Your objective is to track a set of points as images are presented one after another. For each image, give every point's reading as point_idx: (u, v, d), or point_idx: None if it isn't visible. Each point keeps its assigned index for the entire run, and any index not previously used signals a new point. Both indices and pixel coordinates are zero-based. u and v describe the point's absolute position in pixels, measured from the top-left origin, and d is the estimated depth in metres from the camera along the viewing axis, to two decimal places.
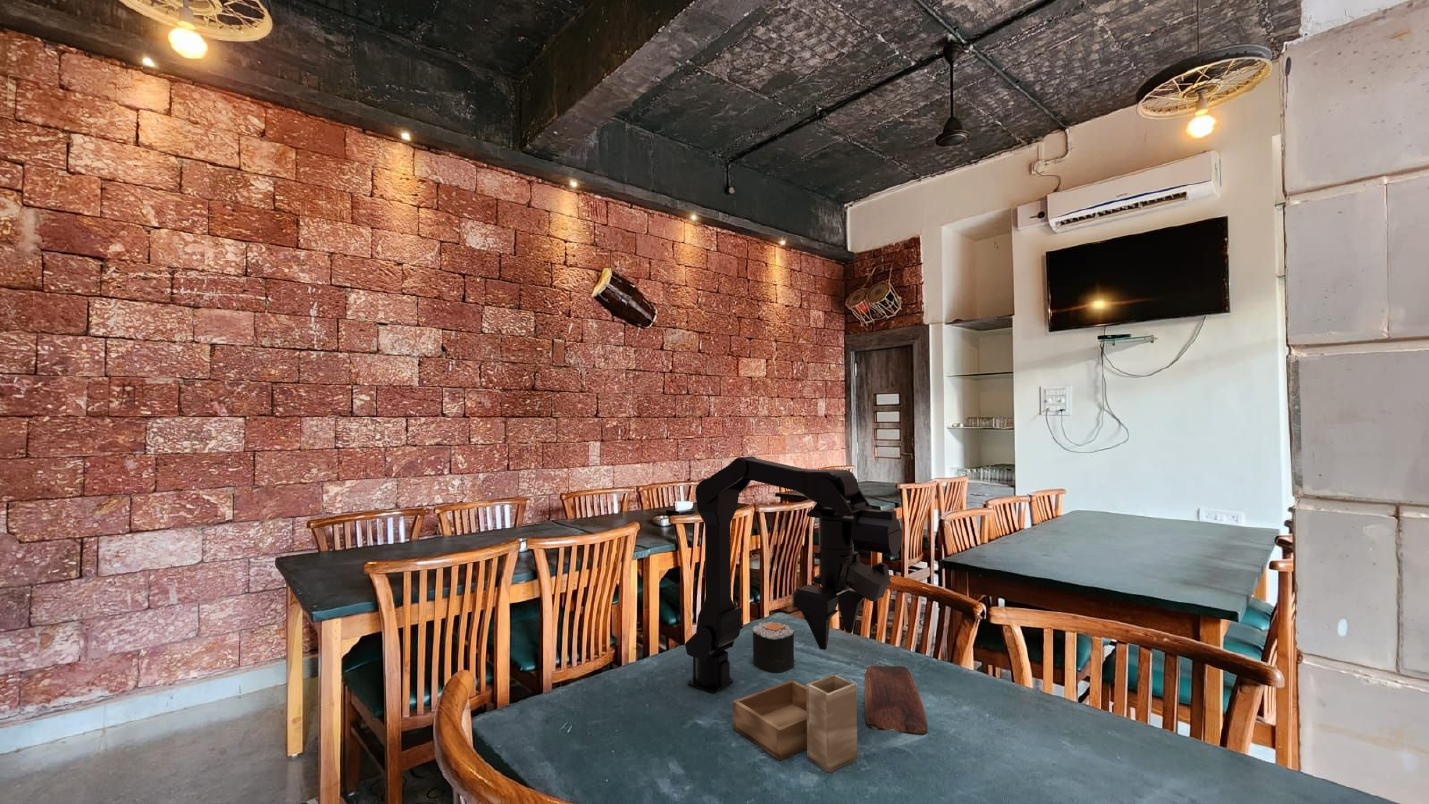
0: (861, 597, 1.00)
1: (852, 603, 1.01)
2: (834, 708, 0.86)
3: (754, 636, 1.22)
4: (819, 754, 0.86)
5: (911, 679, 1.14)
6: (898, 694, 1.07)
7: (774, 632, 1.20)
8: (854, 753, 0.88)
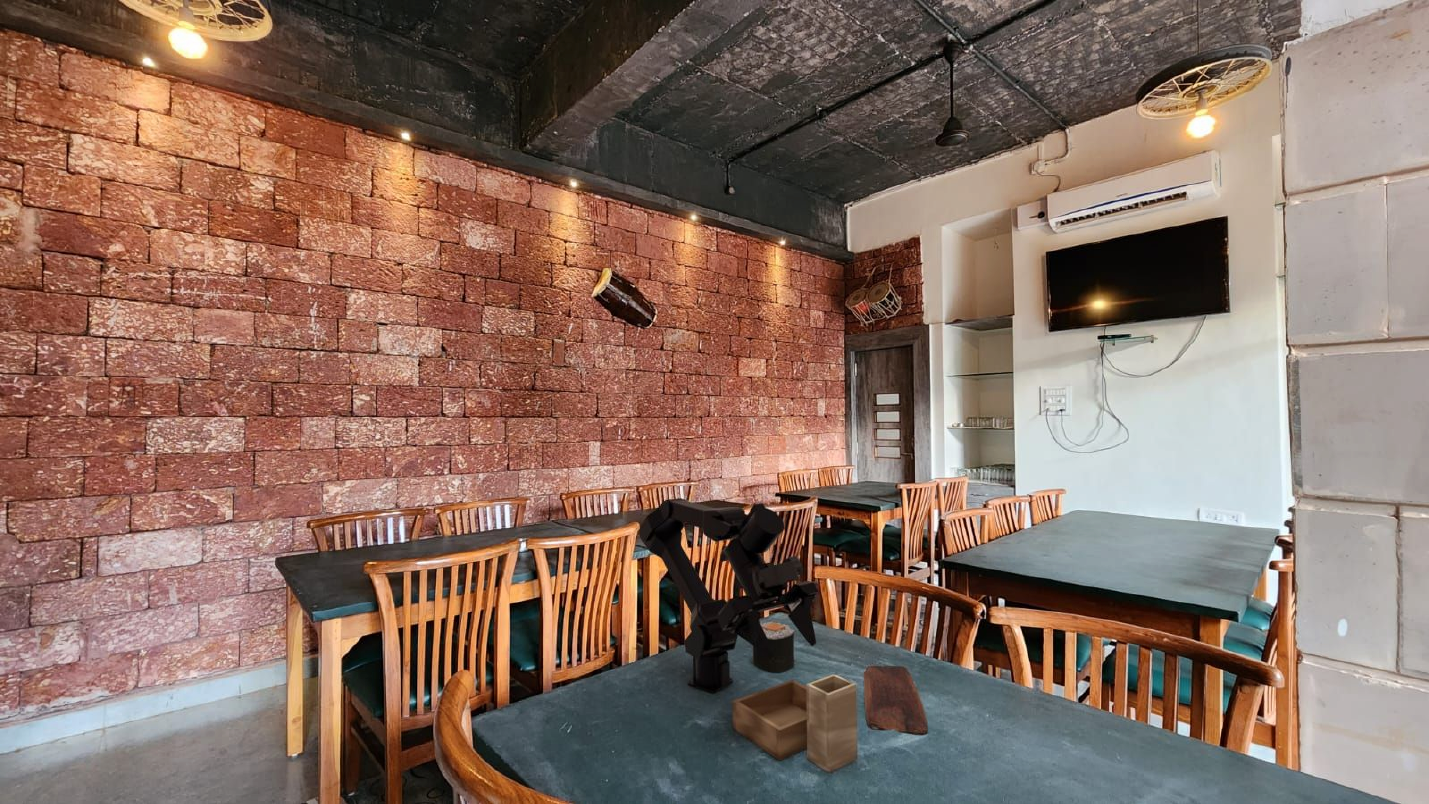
0: (803, 603, 1.01)
1: (801, 615, 1.01)
2: (834, 708, 0.86)
3: None
4: (819, 754, 0.86)
5: (910, 679, 1.14)
6: (897, 694, 1.07)
7: (774, 632, 1.20)
8: (854, 753, 0.88)
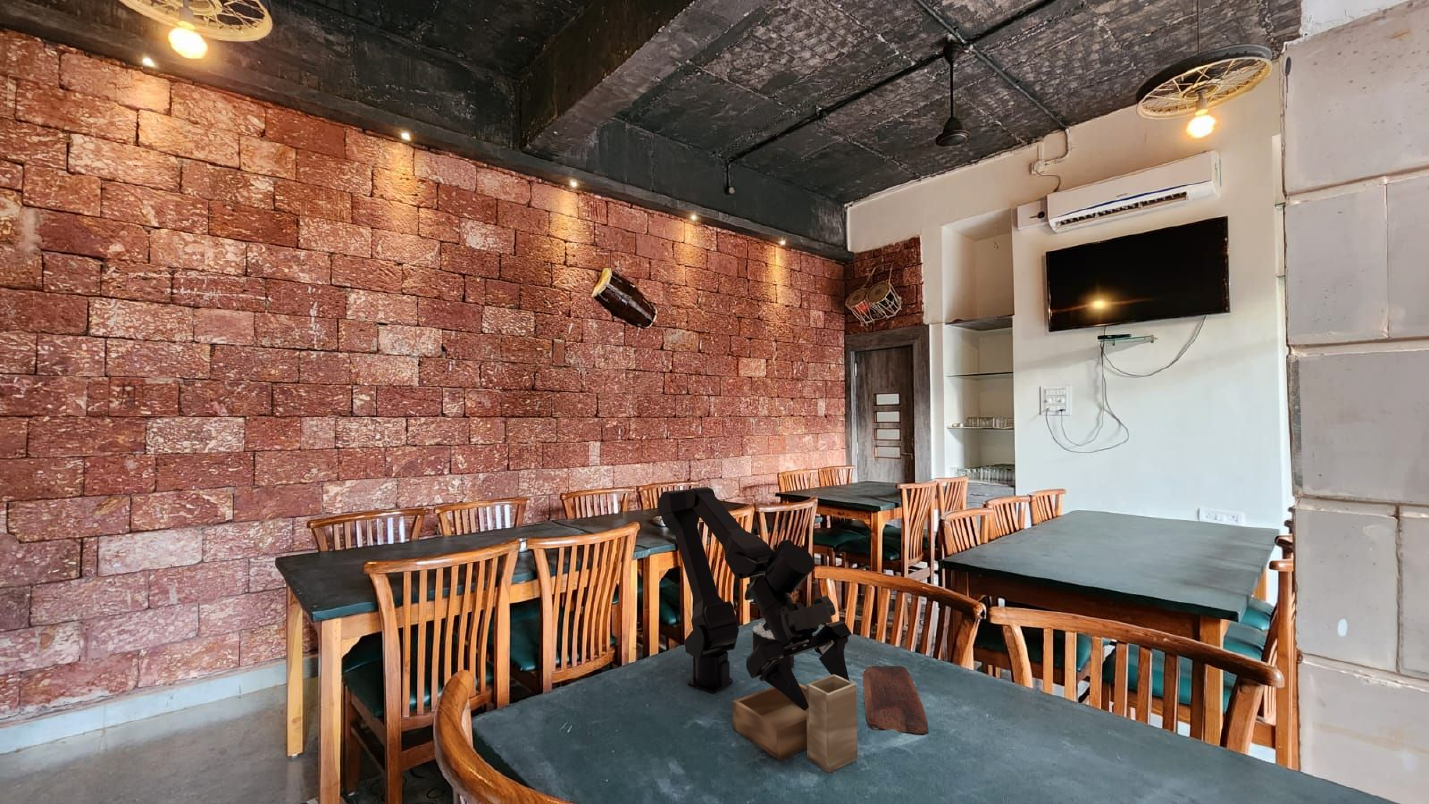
0: (836, 646, 0.95)
1: (834, 659, 0.95)
2: (834, 708, 0.86)
3: (754, 636, 1.22)
4: (819, 754, 0.86)
5: (910, 679, 1.14)
6: (897, 694, 1.07)
7: None
8: (854, 753, 0.88)
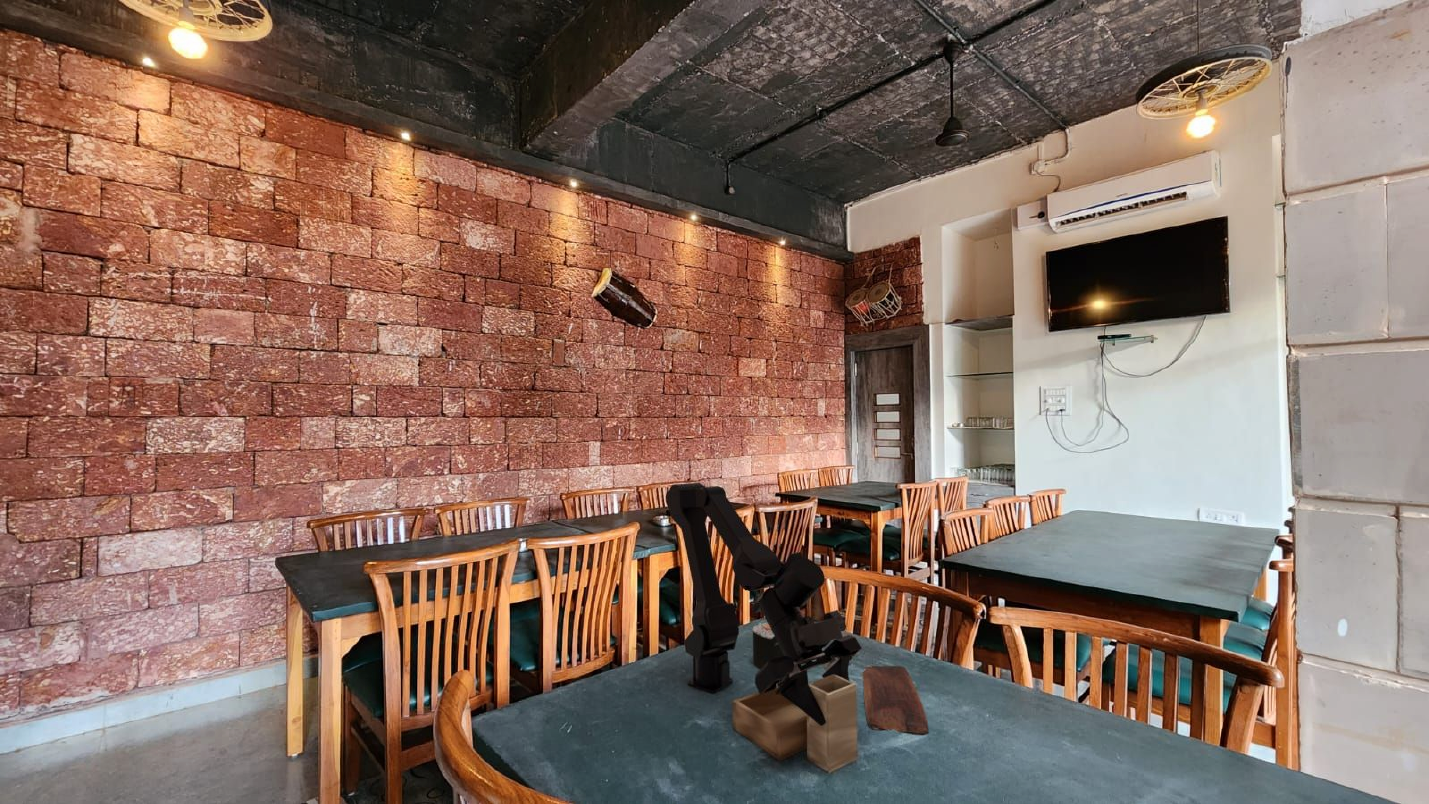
0: (839, 664, 0.92)
1: None
2: (834, 708, 0.86)
3: (754, 636, 1.22)
4: (819, 754, 0.86)
5: (909, 679, 1.14)
6: (897, 694, 1.07)
7: None
8: (854, 753, 0.88)
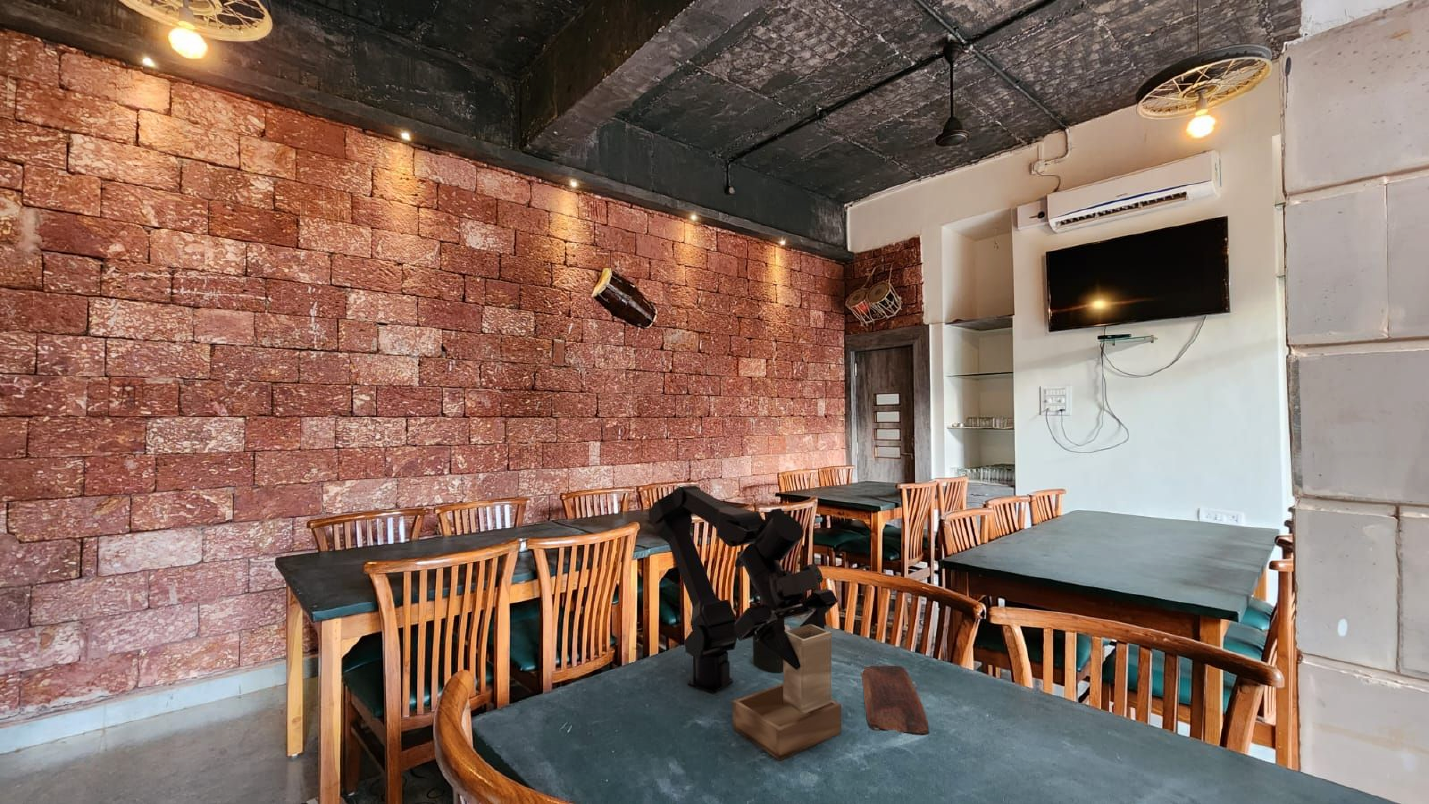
0: (816, 614, 0.96)
1: None
2: (809, 653, 0.90)
3: (754, 636, 1.22)
4: (794, 697, 0.91)
5: (908, 679, 1.14)
6: (897, 694, 1.07)
7: None
8: (828, 697, 0.92)
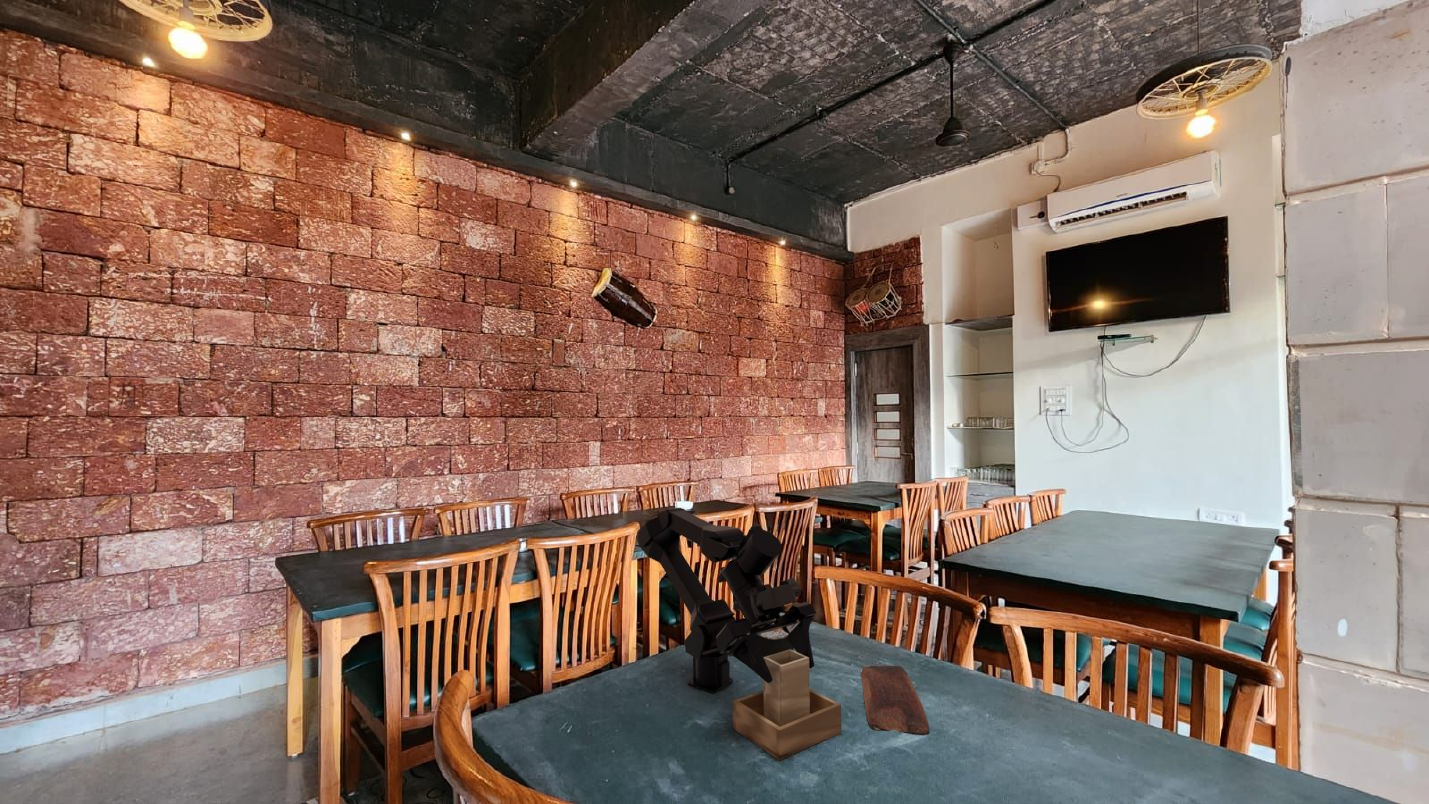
0: (801, 625, 1.01)
1: (799, 637, 1.01)
2: (787, 678, 0.94)
3: None
4: (773, 721, 0.94)
5: (908, 679, 1.14)
6: (897, 694, 1.07)
7: (774, 632, 1.21)
8: None
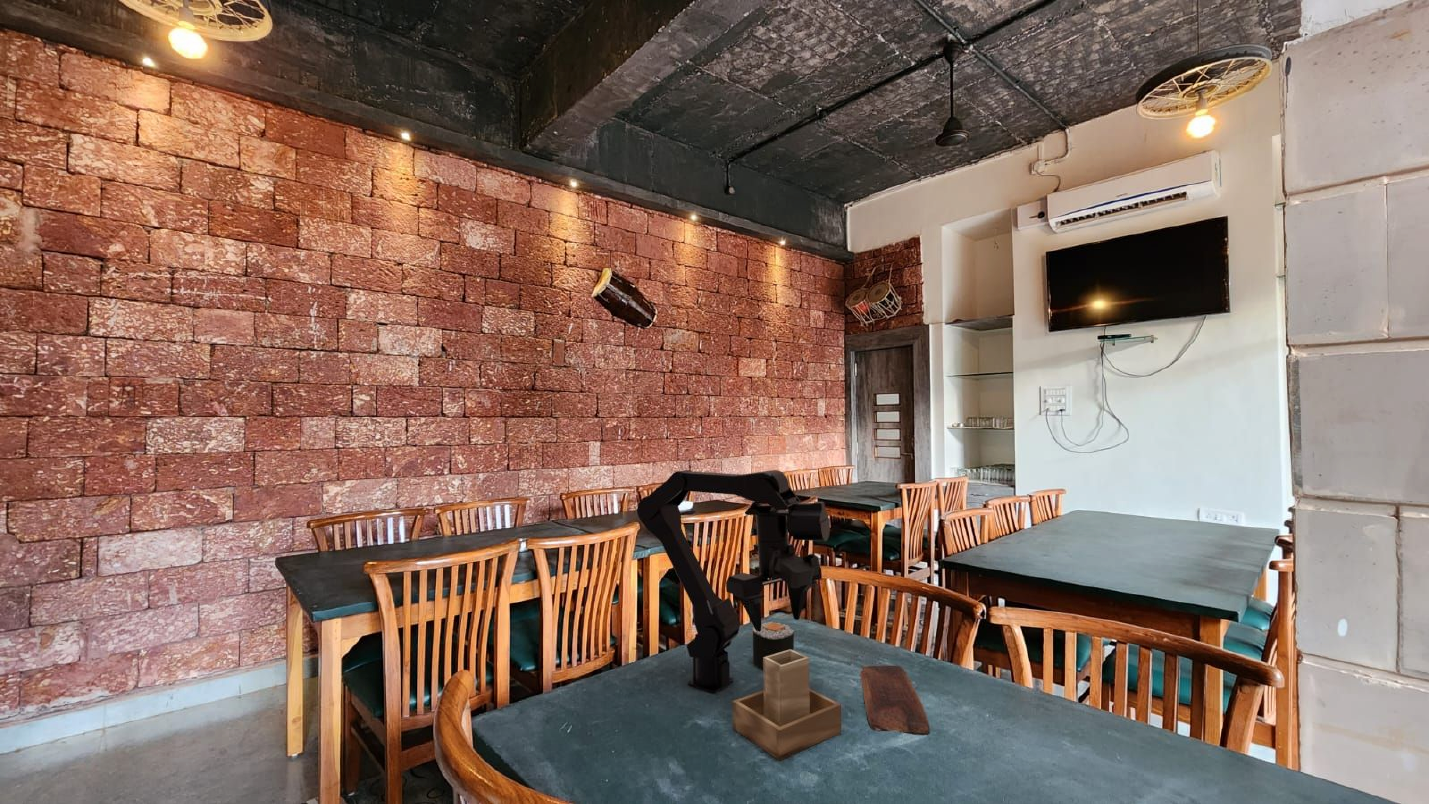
0: (804, 587, 1.09)
1: (798, 592, 1.10)
2: (787, 678, 0.94)
3: (754, 636, 1.22)
4: (773, 721, 0.94)
5: (907, 678, 1.14)
6: (896, 694, 1.07)
7: (774, 632, 1.21)
8: None
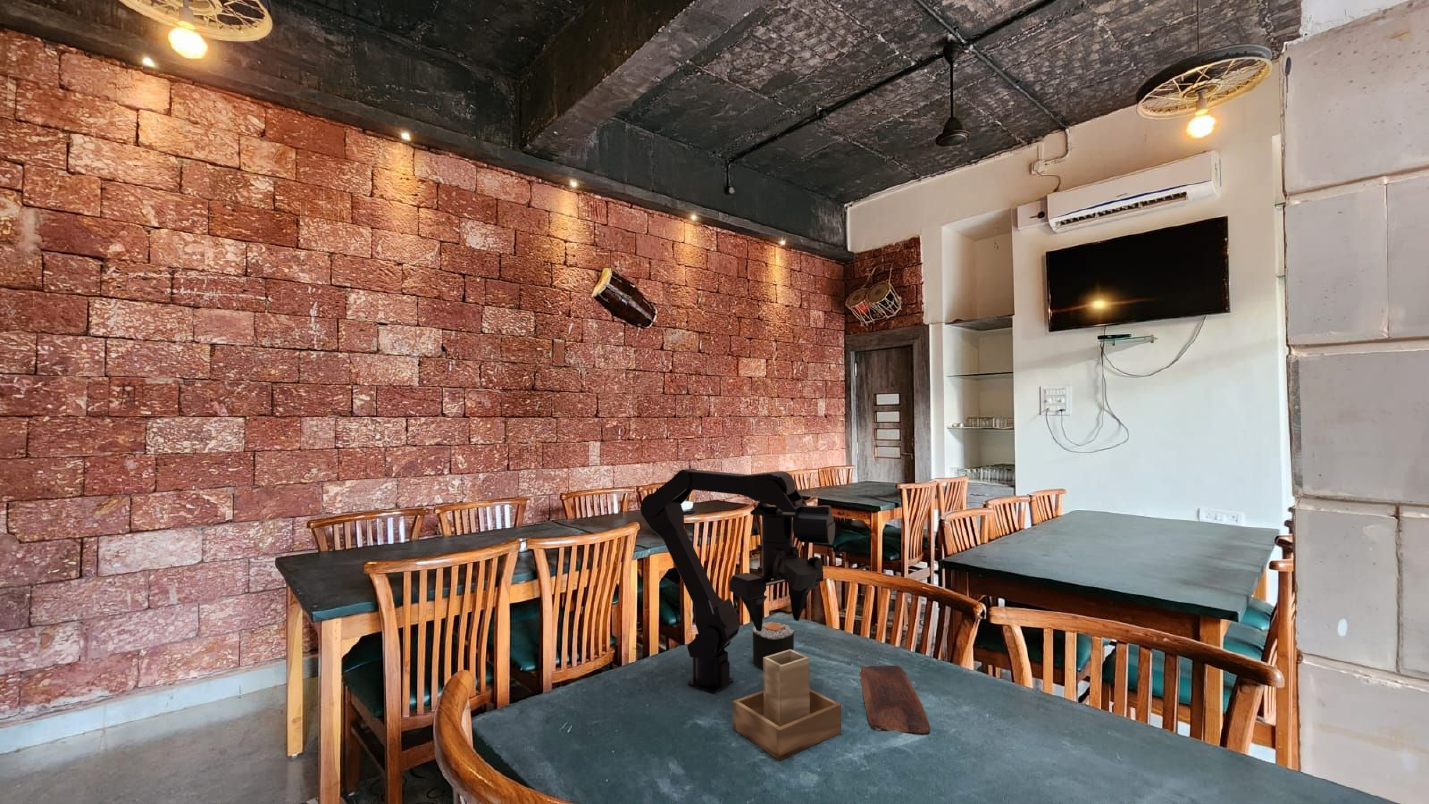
0: (805, 588, 1.10)
1: (799, 593, 1.11)
2: (787, 678, 0.94)
3: (754, 636, 1.22)
4: (773, 721, 0.94)
5: (907, 678, 1.14)
6: (896, 694, 1.07)
7: (774, 632, 1.21)
8: None
